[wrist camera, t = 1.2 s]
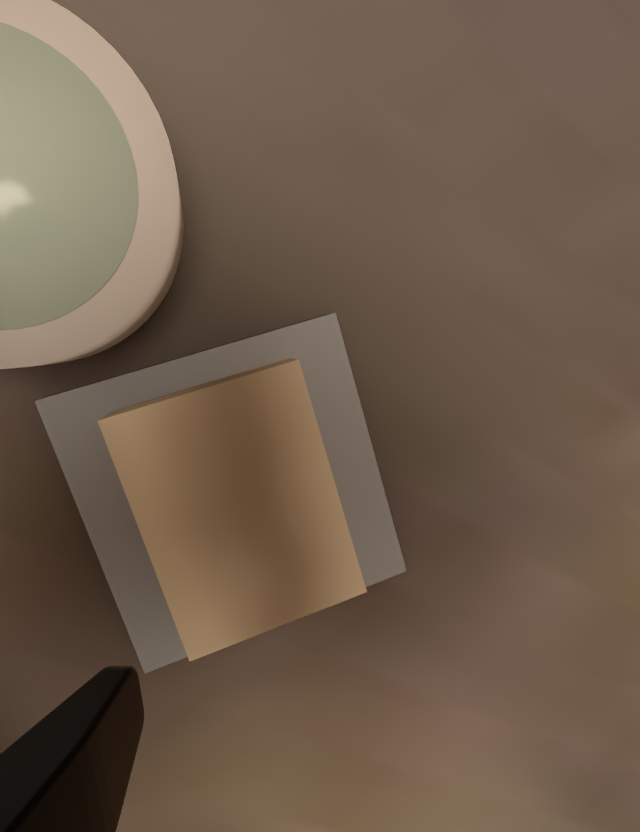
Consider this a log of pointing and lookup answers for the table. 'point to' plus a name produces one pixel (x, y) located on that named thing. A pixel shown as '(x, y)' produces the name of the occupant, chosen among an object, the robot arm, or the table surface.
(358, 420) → the mat
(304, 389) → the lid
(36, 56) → the bowl
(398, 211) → the table surface
